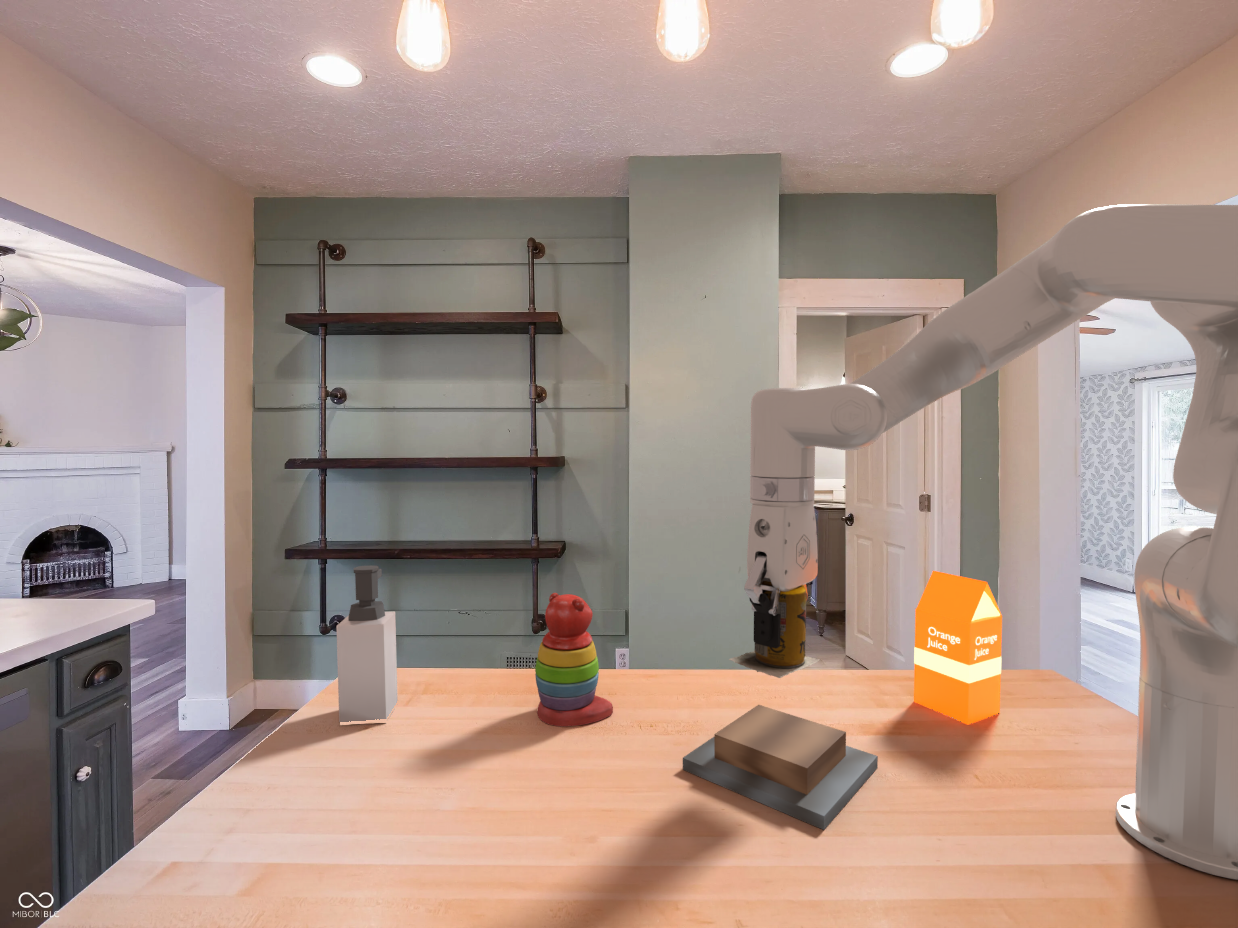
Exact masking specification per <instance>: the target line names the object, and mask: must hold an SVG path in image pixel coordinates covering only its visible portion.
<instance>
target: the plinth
mask: <svg viewBox="0 0 1238 928" xmlns="http://www.w3.org/2000/svg"><path fill="white" fill-rule="evenodd" d="M878 757H879V756H878V755H876V754H873V753H870V752H867V751H864V750H861V749H859V748H855V747H851V746H850V745H849V746H848V745H847V731H846V730H845V731H844V730H841V729H838V728H836V727H835V728H834V727H832V726H829V725H825V724H822V723H819V722H816V721H813V720H809V719H806V718H803V717H799V716H797V715H793V714H790V713H787V712H783V711H780V710H778V709H774V708H771V707H768V706H765V705H761V704H757V705H755V706H754V707H753V708H751V709H750V710H748V711H747V712H745V713H744V714H743V715H741V716H740V717H738V718H737V719H735V720H734V721H732V722H730V723H729V724H727V725H726V726H725V727H723V728H722V729H720V730H719V731H717V732H716V733H714V735H713V737H711V738H710V739H708V740H707V741H705V742H704V743H702V744H701V745H699V746H698V747H696V748H695V749H693V750H692V751H690V752H689V753H688V754H685V755H684V756H683V757H682V770H683V771H685V772H687V773H690V774H692V775H694V776H697V777H699V778H702V779H704V780H706V781H709V782H711V783H713V784H716V785H718V786H720V787H723V788H725V789H727V790H730V791H732V792H734V793H737V794H739V795H741V796H743V797H746V798H748V799H750V800H753V801H754V802H757V803H760V804H762V805H764V806H766V807H769V808H772V809H774V810H776V811H778V812H780V813H784V814H785V815H787V816H790V817H792V818H795V819H797V820H799V821H802V822H804V823H807V824H809V825H812V826H813V827H816V828H818V829H821V830H822V831H823V830H824V831H825V830H826V829H827V828H828V826H829V825H830V824H831V822H833V820H834V819H835V818H836V817H837V815H838V814H839V813H840V812H841V811H842V810H843V809H844V808H845V807H846V805H847V804H848V803H849V802H850V801H851V799H852V798H853V797H854V796H855V795H856V794H857V792H858V791H859V790H860V789H861V788H862V787H863V785H864V784H865V783H866V782H867V781H868V780H869V778H870V777H871V776H872V775H873V774H874V772H876V770H877V769H878V765H879V764H878V762H879V761H878V759H879V758H878Z"/></svg>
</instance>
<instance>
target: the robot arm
mask: <svg viewBox="0 0 1238 928" xmlns="http://www.w3.org/2000/svg"><path fill="white" fill-rule="evenodd" d="M1114 299H1118V300H1119V299H1121V300H1123V299H1124V300H1132V301H1142V302H1143V301H1144V302H1150V305H1151V306H1152V308H1153V309H1154V311H1155V313H1157V315H1158V316H1159V317H1160V318H1162V319H1163V320H1164V321H1165V322H1167V323H1168V324H1169V325H1171V326H1172V327H1174V328H1175V329H1176V330H1177V331H1178V332H1179V333H1180V334H1181V335H1182V336H1183V337H1184V338H1185V339H1186V341H1187V343H1188V344H1189V345H1190V347H1191V349H1192V351H1193V353H1194V358H1195V369H1196V370H1195V379H1194V385H1193V391H1192V396H1191V400H1190V404H1189V407H1188V412H1187V415H1186V419H1185V423H1184V427H1183V431H1182V434H1181V438H1180V442H1179V446H1178V449H1177V453H1176V456H1175V459H1174V460H1175V461H1174V465H1173V472H1172V474H1173V475H1172V478H1173V484H1174V486H1175V489H1176V491H1177V492H1178V494H1179V495H1180V497H1181V498H1182V499H1183V500H1185V501H1186V502H1187V503H1188V504H1190V505H1191V506H1193V507H1195V508H1197V509H1199V510H1202V511H1204V512H1206V513H1210V514H1213V515H1216V516H1215V520H1214V525H1213V527H1205V526H1185V527H1183V526H1182V527H1176V528H1173V529H1169V530H1167V531H1164V532H1162V533H1160V534H1158V535H1156V536H1155V537H1153V538H1152V539H1151V540H1149V541H1148V542H1147V543H1146V544H1145V545H1144V547H1142V549H1141V551H1140V553H1139V554H1138V557H1137V559H1136V562H1135V568H1134V578H1133V579H1134V592H1135V600H1136V606H1137V612H1138V613H1137V614H1138V623H1139V635H1140V638H1139V639H1140V651H1139V652H1140V653H1139V655H1140V657H1139V676H1138V677H1139V678H1138V701H1137V704H1138V705H1137V707H1138V709H1137V729H1136V730H1137V731H1136V732H1137V733H1136V734H1137V735H1136V764H1135V787H1134V788H1135V790H1134V793H1130V794H1126V795H1123V796H1121V798H1119V799H1118V800H1117V802H1116V803H1115V817H1116V820H1117V821H1118V823H1119V824H1120V826H1121V827H1122V828H1123V829H1124V830H1125V831H1126V832H1127V834H1129V835H1130V836H1131V837H1132V838H1134V839H1135V840H1136V841H1138V842H1139V843H1140V844H1142V845H1143V846H1145V847H1147V848H1148V849H1149V850H1151V851H1153V852H1155V853H1156V854H1159V855H1160V856H1162V857H1165V858H1167V859H1169V860H1171V861H1173V862H1176V863H1178V864H1180V865H1182V866H1186V867H1188V868H1191V869H1193V870H1197V871H1199V872H1203V873H1206V874H1210V875H1213V876H1216V877H1222V878H1225V879H1231V880H1236V881H1238V204H1181V203H1180V204H1178V203H1177V204H1176V203H1175V204H1174V203H1173V204H1170V203H1169V204H1167V203H1166V204H1165V203H1161V204H1157V203H1153V204H1151V203H1150V204H1149V203H1147V204H1145V203H1144V204H1142V203H1141V204H1140V203H1139V204H1117V205H1109V206H1103V207H1097V208H1093V209H1091V210H1087V211H1085V212H1081V213H1080V214H1079V215H1077V216H1076V217H1073V218H1072V219H1071V220H1069V221H1068V222H1067V223H1066V224H1064V226H1062V227H1061V228H1060V229H1059V230H1058V231H1057V232H1056V233H1055V234H1054V235H1053V236H1052V237H1051V238H1049V239H1048V240H1046V242H1044V243H1043V244H1041V245H1040V246H1039V247H1037V248H1036V249H1034V250H1032V251H1031V252H1030V253H1028V254H1027V255H1025V256H1024V257H1022V258H1021V259H1019V260H1018V261H1016V262H1015V263H1014V264H1012V265H1011V266H1009V267H1007V268H1006V269H1005V270H1003V271H1002V272H1001V273H999V274H997V275H995V276H994V277H992V278H991V279H990V280H988V281H987V282H985V283H984V284H982V285H981V286H979V287H978V288H977V289H975V290H973V291H972V292H969V293H968V294H967V295H966V296H964V297H963V298H961V299H960V300H958V301H957V302H955V303H954V304H953V303H952V305H950V306H949V307H947V308H945V309H944V310H943V311H942V312H940V313H939V314H938V315H936V316H935V317H934V318H933V319H932V320H930V321H929V322H928V323H927V324H926V325H924V326H923V327H922V329H921V330H920V331H918V332H917V334H916V335H915V336H913V338H911V339H910V340H909V341H908V342H907V343H906V344H904V345H903V346H902V347H901V348H900V349H898V350H897V351H896V352H894V353H893V354H892V355H890V356H889V357H887V358H886V359H884V360H883V361H882V362H880V363H879V364H877V365H876V366H875V367H872V368H871V369H870V370H869V371H867V372H866V373H864V374H862V375H861V376H860V377H857V378H856V379H854V380H853V381H852V382H850V383H844V384H838V385H837V384H836V385H832V386H825V387H820V388H819V387H817V388H810V389H805V388H800V387H774V388H766V389H761V390H757V391H756V392H755V393H754V395H753V396H752V398H751V403H750V465H749V466H750V470H749V472H750V476H749V477H750V478H749V480H750V482H749V483H750V484H749V487H750V488H749V492H750V493H749V496H750V497H749V503H750V504H751V510H750V516H749V525H748V537H747V549H746V550H747V553H746V554H747V555H746V566H747V567H746V569H747V579H746V581H745V584H744V592H745V594H746V595H747V596H748V598H749V602H750V603H751V611H752V612H753V642H754V644H755V643H756V644H759V645H763V646H767V647H771V648H778V647H780V622H781V614H777V610H778V605H779V599H780V594H781V591H783V592H787V591H790V590H792V589H795V588H797V587H799V586H802V585H804V587H805V589H806V601H807V600H808V595H809V594H808V586H809V584H810V583H812V581H814V580H815V579H816V578H817V576H818V571H819V570H818V567H819V566H818V565H819V563H818V562H819V561H818V557H819V555H818V553H819V552H818V535H817V534H818V532H817V531H818V530H817V521H816V520H817V519H816V513H815V507H814V505H815V486H816V484H815V481H816V477H815V475H816V474H815V473H816V469H815V468H816V447H818V448H825V449H833V450H840V451H859V450H862V449H865V448H867V447H869V446H871V445H872V444H874V443H875V442H876V441H877V440H878V439H879V438H880V437H881V436H882V435H883V434H884V433H886V432H888V431H889V430H890V429H892V428H894V427H895V426H897V425H898V424H900V423H901V422H903V421H905V420H906V419H909V418H910V417H911V416H913V415H914V414H916V413H918V412H919V411H921V410H923V409H924V408H926V407H928V406H930V405H931V404H934V403H935V402H937V401H939V400H940V399H942V398H944V397H946V396H948V395H951V394H953V393H956V392H957V391H960V390H962V389H965V388H968V387H969V386H972V385H974V384H975V383H978V382H979V381H981V380H982V379H984V378H986V377H988V376H990V375H992V374H993V373H995V372H996V371H999V370H1000V369H1001V368H1003V367H1005V366H1006V365H1008V364H1009V363H1011V362H1012V361H1014V360H1016V359H1018V358H1019V357H1021V356H1022V355H1024V354H1025V353H1027V352H1028V351H1030V350H1031V349H1033V348H1035V347H1037V346H1038V345H1040V344H1041V343H1044V342H1045V341H1046V340H1049V339H1050V338H1052V337H1053V336H1054V335H1056V334H1058V333H1059V332H1061V331H1063V330H1064V329H1066V328H1067V327H1069V326H1071V325H1073V324H1074V323H1076V322H1077V321H1079V320H1080V319H1082V318H1084V317H1085V316H1087V315H1089V314H1090V313H1092V312H1093V311H1095V310H1097V309H1098V308H1101V307H1102V306H1103V305H1105V304H1107V303H1109V302H1111V301H1112V300H1114ZM764 581H769V582H771V583H772V585H773V586H767V585H764ZM763 591H766V592H772V595H771V600H769V598H768V597H767V595H766V594H763Z"/></svg>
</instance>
